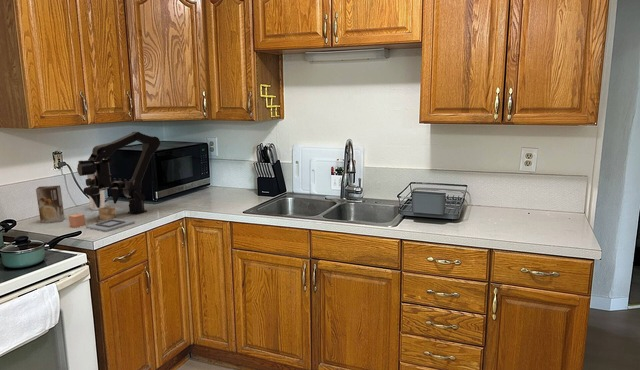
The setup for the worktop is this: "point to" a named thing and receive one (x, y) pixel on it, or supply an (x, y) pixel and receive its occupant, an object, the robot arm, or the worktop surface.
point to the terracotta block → (77, 220)
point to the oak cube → (107, 213)
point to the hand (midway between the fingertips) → (106, 205)
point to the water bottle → (102, 202)
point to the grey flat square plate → (110, 224)
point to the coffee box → (50, 204)
